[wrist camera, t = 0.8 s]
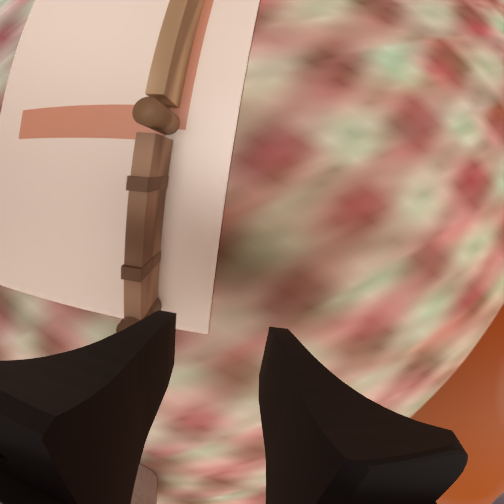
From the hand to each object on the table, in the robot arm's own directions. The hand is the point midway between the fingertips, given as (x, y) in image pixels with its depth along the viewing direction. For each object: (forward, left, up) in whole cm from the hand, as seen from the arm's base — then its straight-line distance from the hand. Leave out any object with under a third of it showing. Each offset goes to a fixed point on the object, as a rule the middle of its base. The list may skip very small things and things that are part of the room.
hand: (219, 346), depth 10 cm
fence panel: (-5, +1, -9) cm, 10 cm away
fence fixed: (-5, +14, -9) cm, 17 cm away
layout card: (-10, +8, -9) cm, 16 cm away
